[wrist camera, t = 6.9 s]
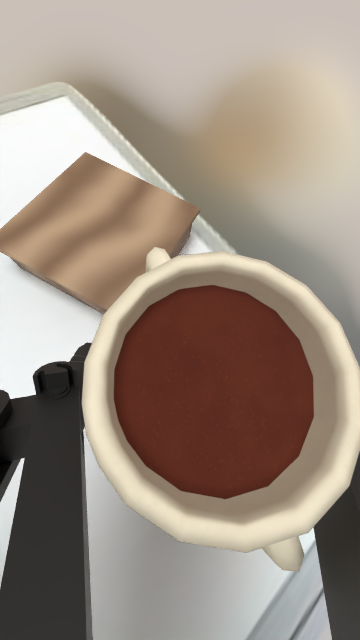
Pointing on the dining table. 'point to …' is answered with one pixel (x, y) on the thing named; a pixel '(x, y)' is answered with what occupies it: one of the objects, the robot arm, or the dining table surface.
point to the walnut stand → (96, 231)
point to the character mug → (223, 403)
